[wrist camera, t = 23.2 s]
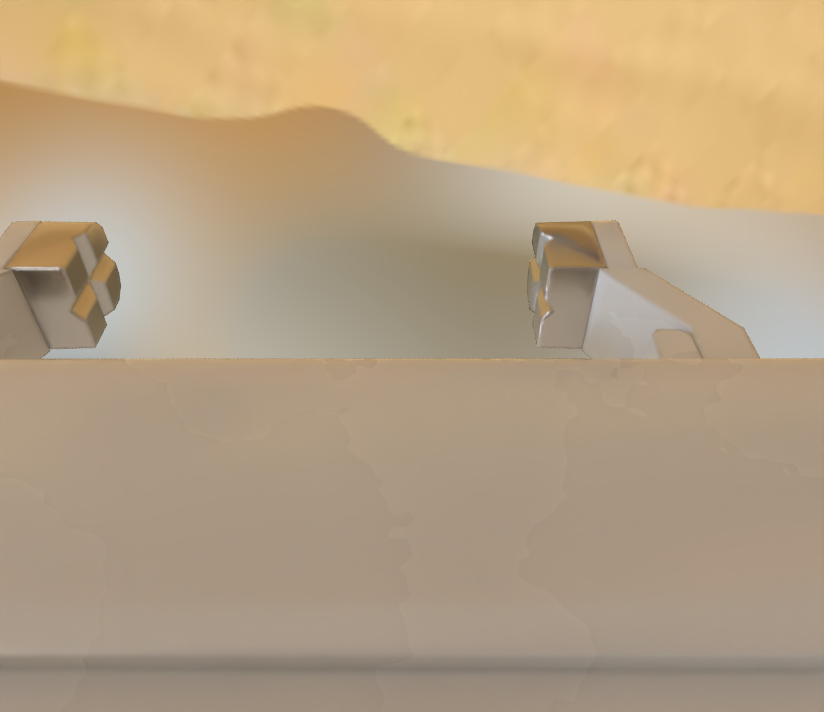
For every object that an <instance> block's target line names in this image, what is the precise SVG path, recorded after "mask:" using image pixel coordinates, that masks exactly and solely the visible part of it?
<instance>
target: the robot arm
mask: <svg viewBox="0 0 824 712" xmlns="http://www.w3.org/2000/svg"><path fill="white" fill-rule="evenodd" d="M108 243H109V242H108V240H107V237H106V235H105V232H104V230H103V227H101V226H100V225H99V224H98V223H96V222H42V221H21V222H20V221H19V222H14V223H11V224H10V226H9V227H8V228H7V229H6V230H5V232H4V233H3V234H2V236H1V237H0V712H824V359H823V358H822V359H760V357H759V355H758V353H757V351H756V350H755V348H754V346H753V344H752V342H751V340H750V338H749V336H748V335H747V333H746V331H745V329H744V328H743V327H741V326H740V325H738V324H736V323H734V322H733V321H731V320H729V319H728V318H726V317H725V316H723V315H721V314H720V313H718V312H716V311H715V310H713V309H711V308H710V307H708V306H706V305H705V304H703V303H702V302H700V301H698V300H697V299H695V298H693V297H692V296H690V295H688V294H687V293H685V292H684V291H682V290H680V289H678V288H677V287H675V286H674V285H672V284H670V283H669V282H667V281H665V280H664V279H662V278H660V277H659V276H657V275H656V274H654V273H652V272H651V271H649V270H647V269H645V268H643V269H641V268H640V269H639V268H638V267H637V265H636V262H635V260H634V258H633V255H632V253H631V250H630V248H629V246H628V244H627V241H626V239H625V236H624V234H623V231H622V229H621V227H620V224H619V223H618V222H617V221H613V220H612V221H588V222H587V221H585V222H549V223H548V222H546V223H536V224H535V228H534V231H533V238H532V245H533V250H534V254H535V257H534V258H533V259H532V260H531V261H530V262H529V269H528V281H527V295H528V303H529V309H530V310H531V311H532V312H533V313H534V318H533V329H534V334H535V339H536V344H537V348H566V349H582V351H583V352H584V353H585V354H586V355H587V356H588V357H589V358H590V359H41V358H42V357H43V356H45V355H46V354H47V353H48V352H50V349H74V348H95V347H96V345H97V344H98V341H99V339H100V338H101V336H102V334H103V332H104V330H105V328H106V326H107V324H106V321H105V318H104V316H106V315H107V314H109V313H110V312H112V311H113V310H115V308H116V306H117V304H118V302H119V298H120V289H121V283H120V277H119V272H118V269H117V266H116V263H115V262H114V261H113V260H112V259H111V258H110V257H108V256H107V255H106V254H105V253H104V251H105V249H106V247H107V245H108Z"/></svg>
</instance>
